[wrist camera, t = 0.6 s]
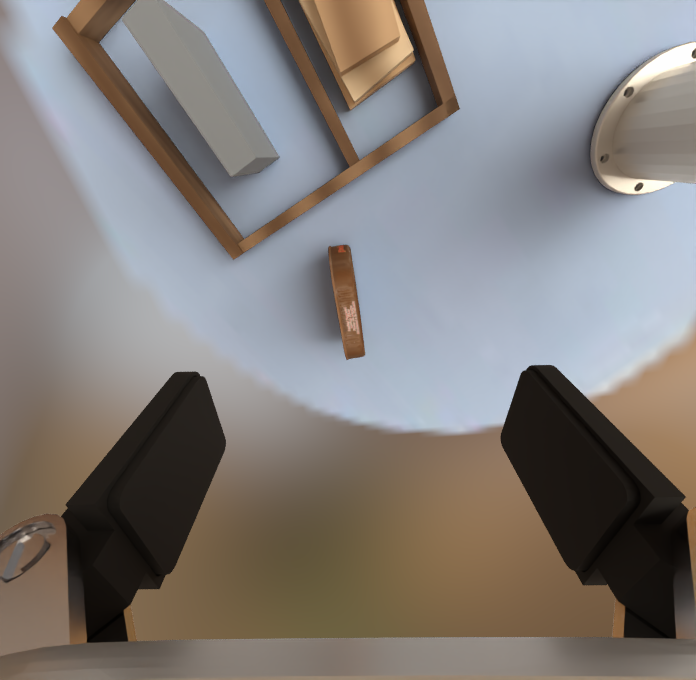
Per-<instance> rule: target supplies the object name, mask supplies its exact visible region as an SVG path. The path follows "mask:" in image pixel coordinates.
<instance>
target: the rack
mask: <svg viewBox="0 0 696 680" xmlns="http://www.w3.org/2000/svg"><path fill="white" fill-rule="evenodd" d="M134 1H135V0H80V2H79V3H78V4H77V5H76V7H75V8H74V9H73V10H72V12H71V13H70V14H69V15H68V17H67V18H66V17H63V16H61V17H60V19H59V20H58V21H57V22H56V24H55V25H54V26H53V27H52V29H53V30H54V31H55V32H56V34H57V35H58V36H59V38H60V39H61V40H62V41H63V43H64V44H65V45H66V46H67V48H68V49H69V50H70V52H71V53H72V54H73V55H74V57H75V58H76V59H77V60H78V62H79V63H80V64H81V66H82V67H83V68H84V69H85V71H86V72H87V73H88V75H89V76H90V77H91V78H92V80H93V81H94V82H95V83H96V85H97V86H98V87H99V89H100V90H101V91H102V92H103V94H104V95H105V96H106V98H107V99H108V100H109V101H110V103H111V104H112V105H113V106H114V108H115V109H116V110H117V112H118V113H119V114H120V115H121V117H122V118H123V119H124V120H125V122H126V123H127V124H128V126H129V127H130V128H131V129H132V131H133V132H134V133H135V135H136V136H137V137H138V138H139V140H140V141H141V142H142V143H143V145H144V146H145V147H146V149H147V150H148V151H149V152H150V154H151V155H152V156H153V157H154V159H155V160H156V161H157V163H158V164H159V165H160V166H161V168H162V169H163V170H164V172H165V173H166V174H167V175H168V177H169V178H170V179H171V180H172V182H173V183H174V184H175V186H176V187H177V188H178V189H179V191H180V192H181V193H182V195H183V196H184V197H185V198H186V200H187V201H188V202H189V203H190V205H191V206H192V207H193V209H194V210H195V211H196V212H197V214H198V215H199V216H200V217H201V219H202V220H203V221H204V223H205V224H206V225H207V226H208V228H209V229H210V230H211V232H212V233H213V234H214V235H215V237H216V238H217V239H218V240H219V242H220V243H221V244H222V246H223V247H224V248H225V249H226V251H227V252H228V253H229V255H230V256H231V257H232V258H233V260H234V259H235V258H237V257H238V256H240V255H241V254H243V253H244V252H246V251H247V250H249V249H250V248H252V247H253V246H255V245H256V244H258V243H259V242H261V241H262V240H264V239H265V238H267V237H268V236H270V235H271V234H273V233H274V232H276V231H277V230H279V229H280V228H282V227H283V226H285V225H286V224H288V223H289V222H291V221H292V220H294V219H295V218H297V217H298V216H300V215H301V214H303V213H304V212H306V211H307V210H309V209H310V208H312V207H313V206H315V205H316V204H318V203H319V202H321V201H322V200H324V199H325V198H327V197H328V196H330V195H331V194H333V193H334V192H336V191H337V190H339V189H340V188H342V187H343V186H345V185H346V184H348V183H349V182H351V181H352V180H354V179H355V178H357V177H358V176H360V175H361V174H363V173H364V172H366V171H367V170H369V169H370V168H372V167H373V166H375V165H376V164H378V163H379V162H381V161H382V160H384V159H385V158H387V157H388V156H390V155H391V154H393V153H394V152H396V151H397V150H399V149H400V148H402V147H403V146H405V145H406V144H408V143H409V142H411V141H412V140H414V139H415V138H417V137H418V136H420V135H421V134H423V133H424V132H426V131H427V130H429V129H430V128H432V127H433V126H435V125H436V124H438V123H439V122H441V121H442V120H444V119H445V118H447V117H448V116H450V115H451V114H453V113H454V112H456V111H457V110H459V109H460V108H459V105H458V102H457V99H456V96H455V93H454V90H453V87H452V84H451V81H450V78H449V75H448V72H447V69H446V66H445V63H444V60H443V57H442V54H441V51H440V48H439V44H438V41H437V38H436V35H435V32H434V29H433V26H432V23H431V20H430V17H429V14H428V11H427V8H426V5H425V2H424V0H400V3H401V6H402V9H403V11H404V14H405V17H406V20H407V23H408V25H409V28H410V31H411V34H412V37H413V39H414V42H415V45H416V48H417V50H418V53H419V56H420V59H421V62H422V64H423V67H424V70H425V73H426V76H427V78H428V81H429V84H430V87H431V90H432V92H433V95H434V98H435V101H436V103H437V106H438V107H437V108H436V109H434V110H433V111H431V112H430V113H428V114H427V115H426V116H424V117H423V118H421V119H420V120H418V121H417V122H415V123H414V124H412V125H411V126H409V127H408V128H407V129H405V130H404V131H402V132H401V133H399V134H398V135H396V136H395V137H393V138H392V139H390V140H389V141H387V142H386V143H385V144H383V145H382V146H380V147H379V148H377V149H376V150H374V151H373V152H371V153H370V154H368V155H367V156H366V157H364V158H363V159H361V160H359V158H358V156H357V154H356V152H355V150H354V148H353V146H352V144H351V142H350V140H349V138H348V136H347V134H346V132H345V130H344V128H343V126H342V124H341V122H340V120H339V118H338V116H337V114H336V112H335V110H334V108H333V106H332V104H331V102H330V100H329V98H328V96H327V94H326V92H325V90H324V88H323V86H322V83H321V81H320V79H319V77H318V75H317V73H316V71H315V69H314V67H313V65H312V63H311V61H310V59H309V57H308V55H307V53H306V51H305V49H304V47H303V45H302V43H301V41H300V39H299V37H298V35H297V33H296V31H295V29H294V27H293V25H292V23H291V21H290V19H289V17H288V15H287V13H286V11H285V9H284V7H283V5H282V3H281V1H280V0H264V1H265V3H266V5H267V7H268V9H269V11H270V13H271V15H272V17H273V19H274V21H275V23H276V25H277V27H278V29H279V30H280V32H281V34H282V36H283V38H284V40H285V42H286V44H287V46H288V48H289V50H290V52H291V54H292V56H293V58H294V60H295V62H296V64H297V65H298V67H299V69H300V71H301V73H302V75H303V77H304V79H305V81H306V83H307V85H308V87H309V89H310V91H311V93H312V95H313V97H314V99H315V100H316V102H317V104H318V106H319V108H320V110H321V112H322V114H323V116H324V118H325V120H326V122H327V124H328V126H329V128H330V130H331V132H332V134H333V135H334V137H335V139H336V141H337V143H338V145H339V147H340V149H341V151H342V153H343V155H344V157H345V159H346V161H347V163H348V165H349V168H348V169H346V170H345V171H344V172H342V173H341V174H339V175H338V176H336V177H335V178H333V179H332V180H330V181H329V182H327V183H326V184H325V185H323V186H322V187H320V188H319V189H317V190H316V191H314V192H313V193H311V194H310V195H308V196H307V197H305V198H304V199H303V200H301V201H300V202H298V203H297V204H295V205H294V206H292V207H291V208H289V209H288V210H286V211H285V212H284V213H282V214H281V215H279V216H278V217H276V218H275V219H273V220H272V221H270V222H269V223H267V224H266V225H264V226H263V227H262V228H260V229H259V230H257V231H256V232H254V233H253V234H251V235H250V236H248V237H247V238H245V239H244V238H243V237H242V235H241V234H240V233H239V231H238V230H237V228H236V227H235V226H234V224H233V223H232V222H231V220H230V219H229V218H228V216H227V215H226V214H225V212H224V211H223V210H222V208H221V207H220V206H219V204H218V203H217V201H216V200H215V199H214V197H213V196H212V195H211V193H210V192H209V191H208V189H207V188H206V187H205V185H204V184H203V183H202V181H201V180H200V179H199V177H198V176H197V174H196V173H195V172H194V170H193V169H192V168H191V166H190V165H189V164H188V162H187V161H186V160H185V158H184V157H183V156H182V154H181V153H180V152H179V150H178V149H177V147H176V146H175V145H174V143H173V142H172V141H171V139H170V138H169V137H168V135H167V134H166V133H165V131H164V130H163V129H162V127H161V126H160V125H159V123H158V122H157V120H156V119H155V118H154V116H153V115H152V114H151V112H150V111H149V110H148V108H147V107H146V106H145V104H144V103H143V102H142V100H141V99H140V98H139V96H138V95H137V93H136V92H135V91H134V89H133V88H132V87H131V85H130V84H129V83H128V81H127V80H126V79H125V77H124V76H123V75H122V73H121V72H120V71H119V69H118V68H117V66H116V65H115V64H114V62H113V61H112V60H111V58H110V57H109V56H108V54H107V53H106V52H105V50H104V49H103V48H102V46H101V45H100V44H99V42H100V40H101V39H102V38H103V37H104V36H105V35H106V34H107V32H108V31H109V30H110V29H111V28H112V27H113V26H114V24H115V23H116V22H117V21H118V20H119V19H120V18H121V16H122V15H123V14H124V13H125V12H126V11H127V9H128V8H129V7H130V6H131V5H132V4H133V3H134Z"/></svg>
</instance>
